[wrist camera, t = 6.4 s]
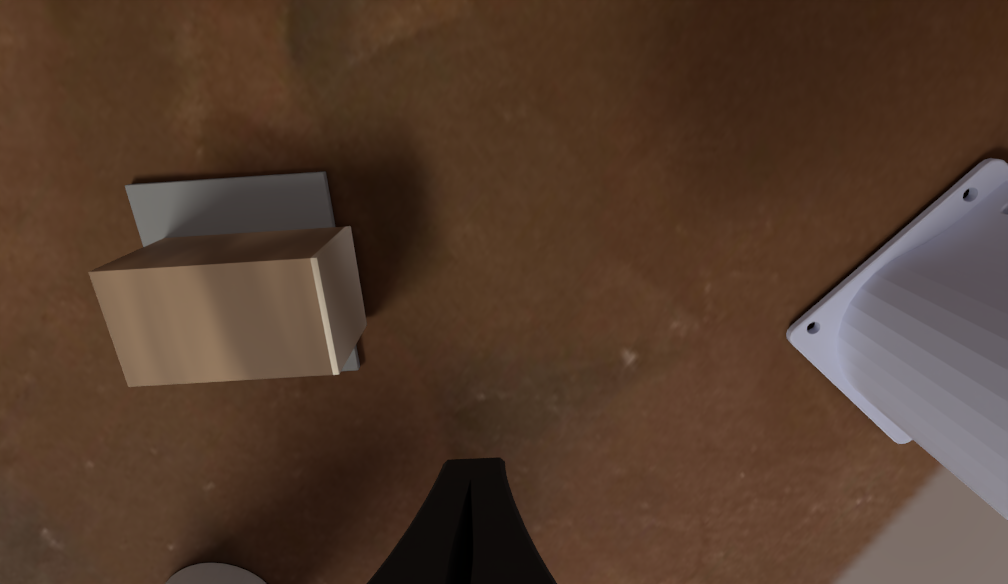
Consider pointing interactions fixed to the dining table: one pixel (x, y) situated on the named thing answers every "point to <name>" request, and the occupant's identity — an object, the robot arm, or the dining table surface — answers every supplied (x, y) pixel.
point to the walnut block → (234, 306)
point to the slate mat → (233, 209)
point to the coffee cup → (214, 575)
